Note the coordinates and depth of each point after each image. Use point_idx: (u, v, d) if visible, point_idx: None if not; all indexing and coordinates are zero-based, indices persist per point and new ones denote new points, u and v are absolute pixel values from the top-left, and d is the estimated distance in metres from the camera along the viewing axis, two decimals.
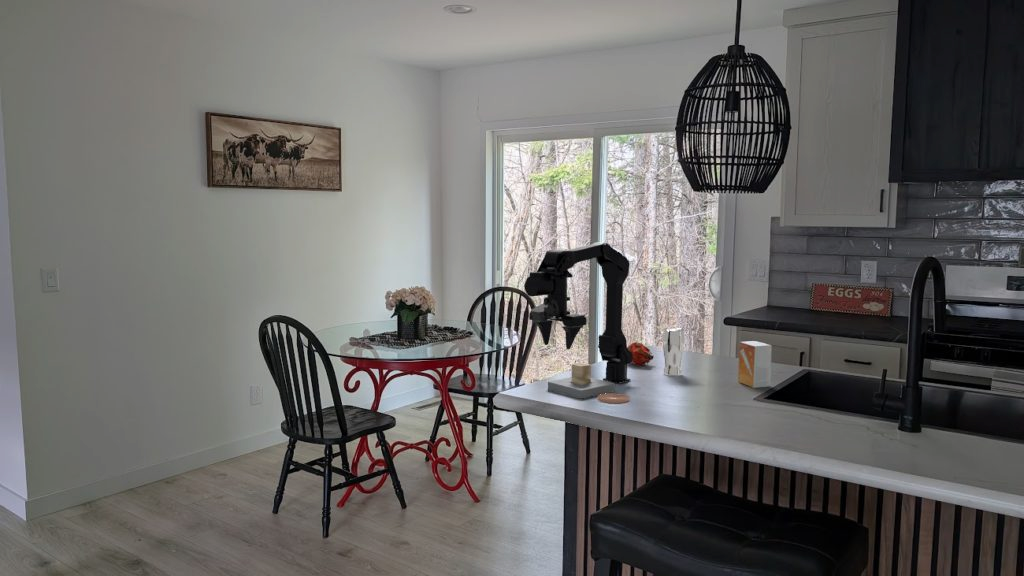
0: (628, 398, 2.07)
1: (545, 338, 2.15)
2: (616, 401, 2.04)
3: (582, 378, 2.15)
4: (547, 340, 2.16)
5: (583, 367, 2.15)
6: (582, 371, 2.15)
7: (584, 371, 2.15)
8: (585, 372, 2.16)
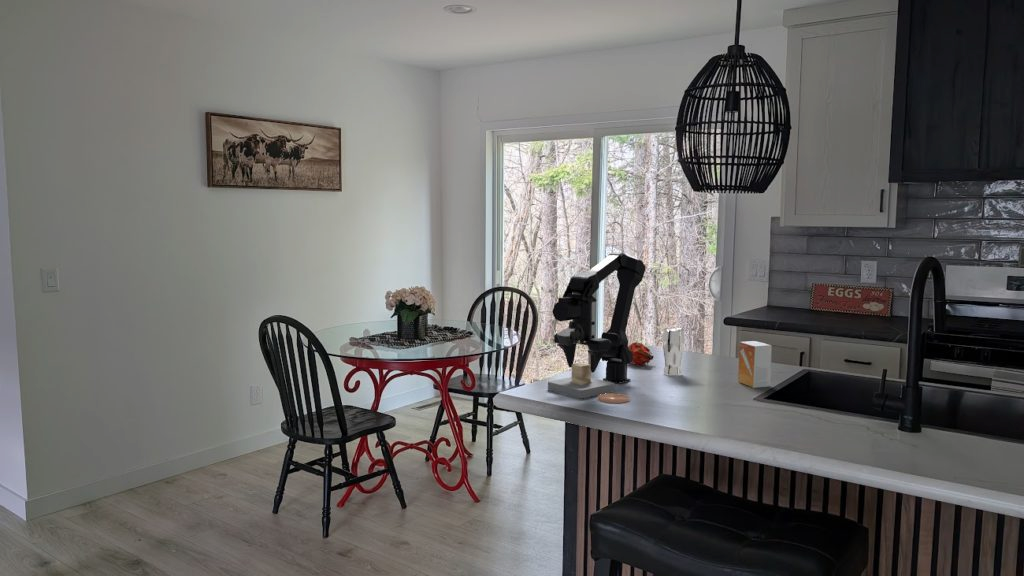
0: (628, 398, 2.07)
1: (569, 360, 2.20)
2: (616, 401, 2.04)
3: (582, 378, 2.15)
4: (571, 363, 2.21)
5: (583, 367, 2.15)
6: (582, 371, 2.15)
7: (584, 371, 2.15)
8: (585, 372, 2.16)
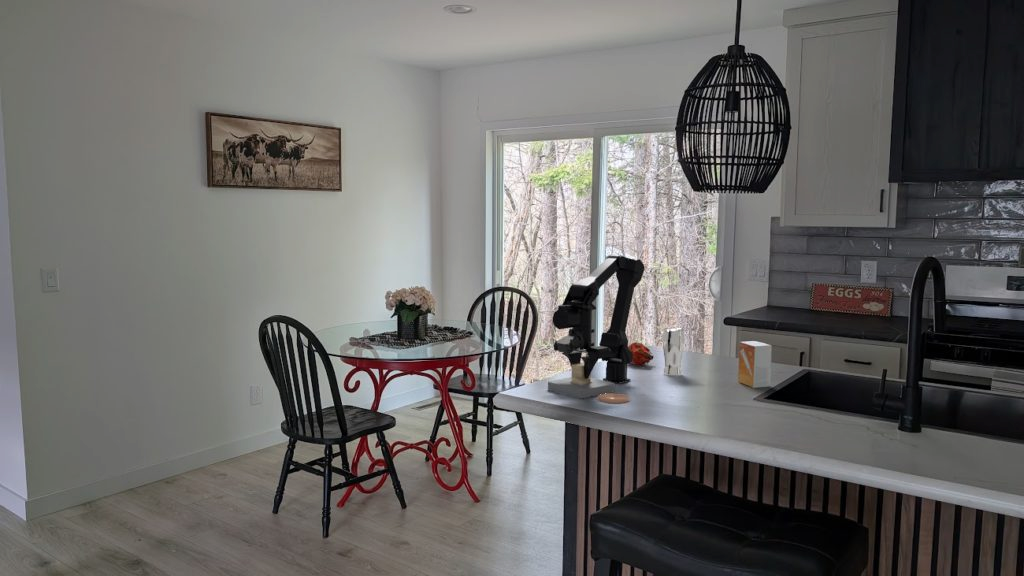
0: (628, 398, 2.07)
1: None
2: (616, 401, 2.04)
3: (582, 378, 2.15)
4: None
5: (583, 367, 2.15)
6: (582, 371, 2.15)
7: None
8: None
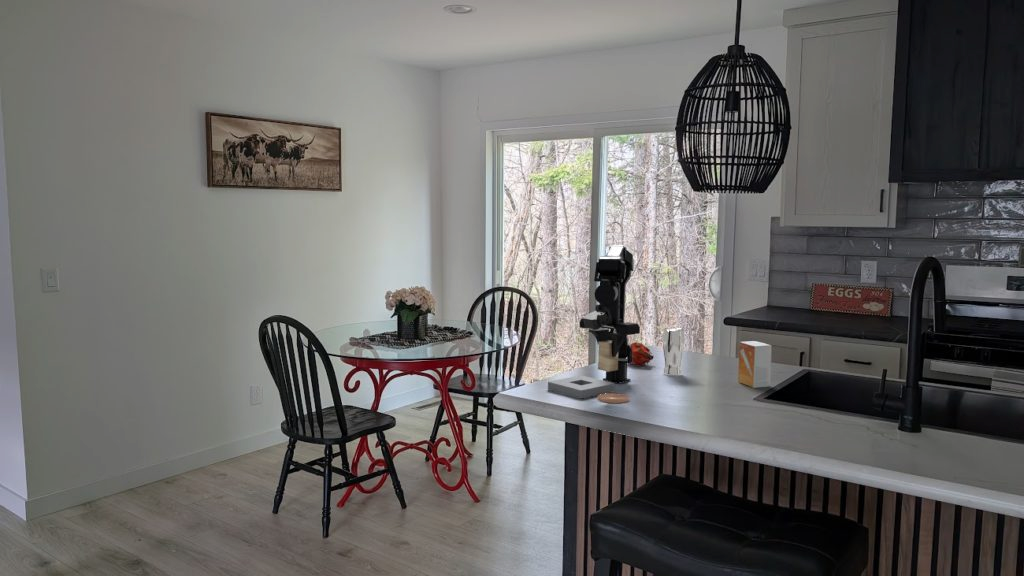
0: (628, 398, 2.07)
1: None
2: (616, 401, 2.04)
3: (609, 356, 2.06)
4: None
5: (610, 344, 2.06)
6: (609, 349, 2.05)
7: None
8: None
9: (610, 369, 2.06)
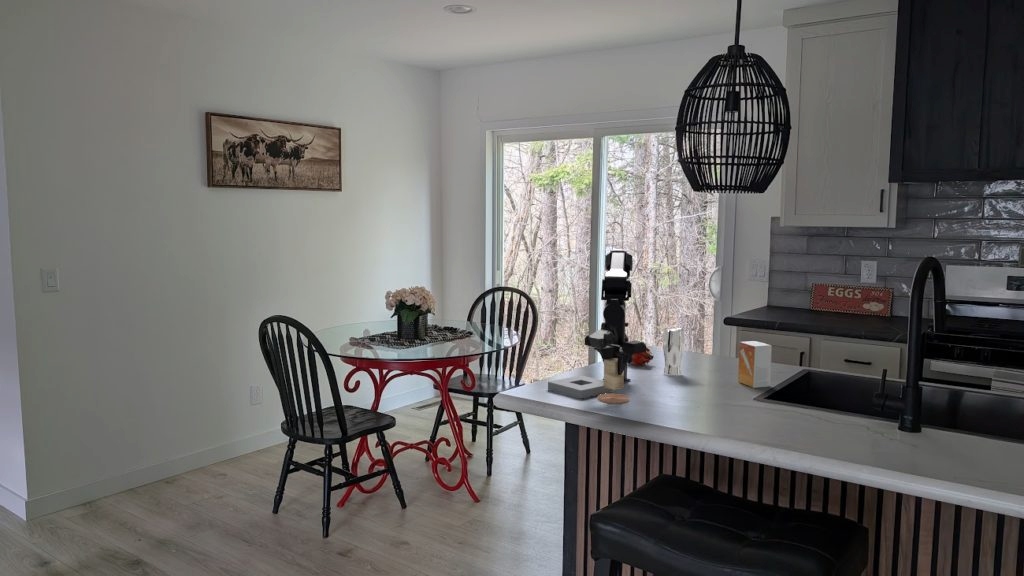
0: (628, 398, 2.07)
1: None
2: (616, 401, 2.04)
3: (615, 374, 2.05)
4: None
5: (616, 363, 2.05)
6: (615, 367, 2.05)
7: None
8: None
9: (616, 387, 2.06)
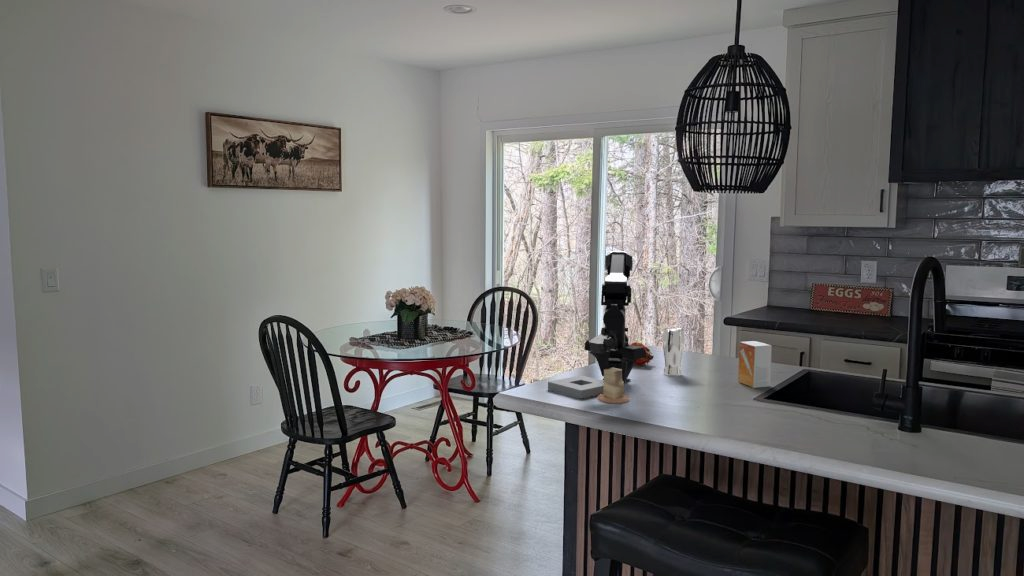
0: (628, 398, 2.07)
1: (603, 369, 2.10)
2: (616, 401, 2.04)
3: (615, 384, 2.05)
4: None
5: (616, 372, 2.05)
6: (615, 377, 2.05)
7: (618, 377, 2.06)
8: (619, 377, 2.06)
9: (616, 397, 2.06)
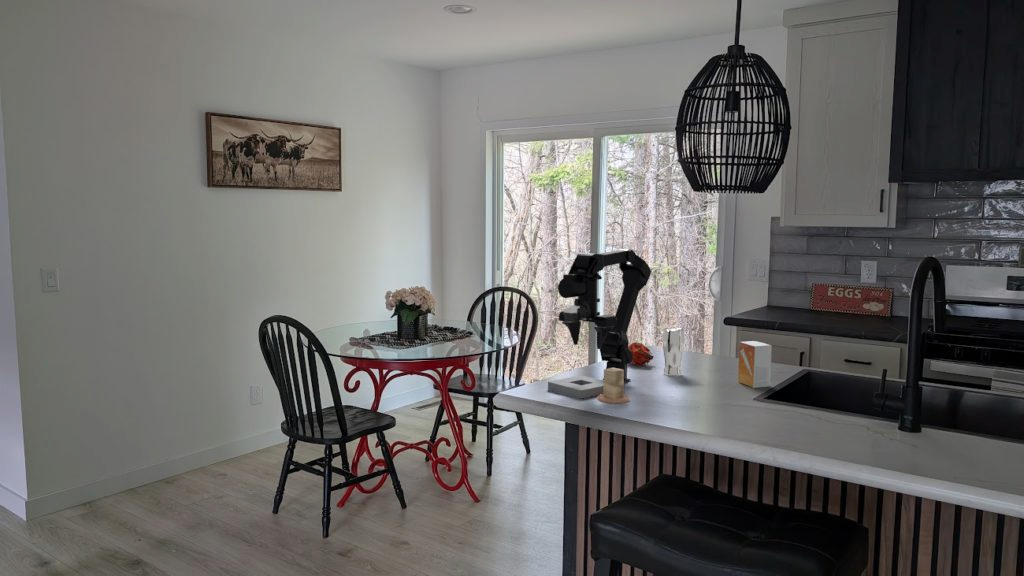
0: (628, 398, 2.07)
1: (574, 338, 2.22)
2: (616, 401, 2.04)
3: (615, 384, 2.05)
4: (576, 340, 2.22)
5: (616, 372, 2.05)
6: (615, 377, 2.05)
7: (617, 377, 2.06)
8: (618, 377, 2.06)
9: (616, 397, 2.06)
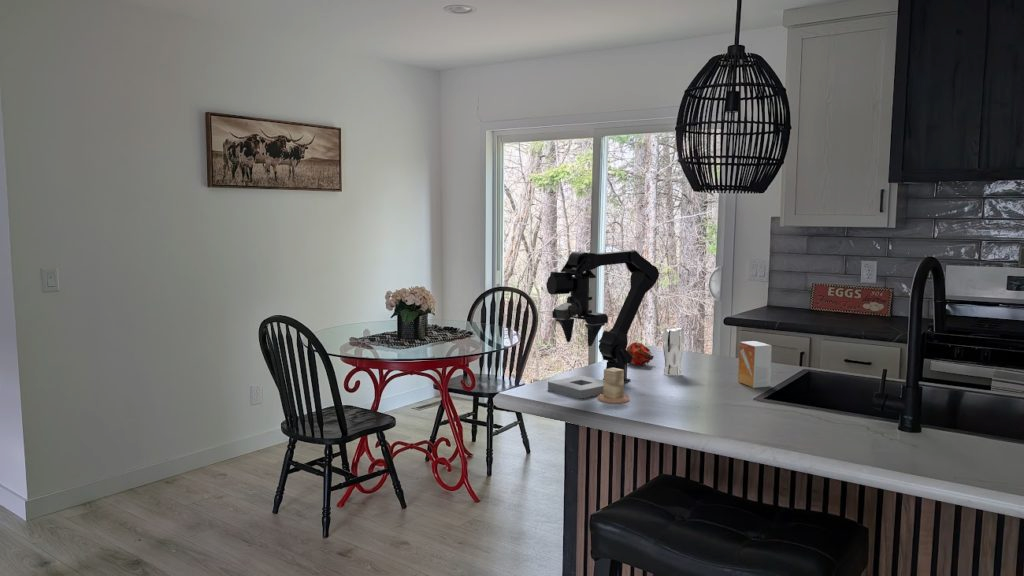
0: (628, 398, 2.07)
1: (567, 335, 2.26)
2: (616, 401, 2.04)
3: (615, 384, 2.05)
4: (569, 337, 2.26)
5: (616, 372, 2.05)
6: (615, 377, 2.05)
7: (617, 377, 2.06)
8: (618, 377, 2.06)
9: (616, 397, 2.06)
